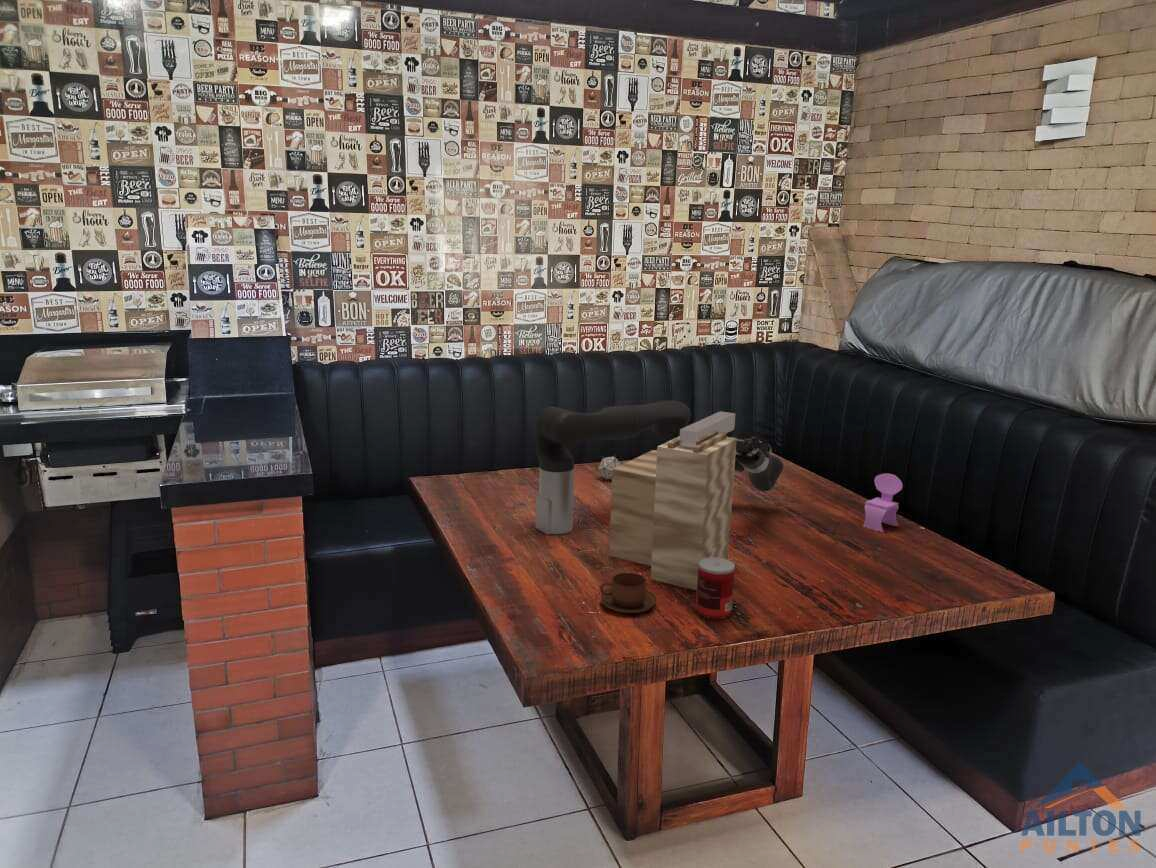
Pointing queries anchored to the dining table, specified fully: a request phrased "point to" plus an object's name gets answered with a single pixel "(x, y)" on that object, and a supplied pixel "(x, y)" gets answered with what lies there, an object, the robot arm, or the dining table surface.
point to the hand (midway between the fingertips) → (736, 437)
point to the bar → (706, 429)
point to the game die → (608, 466)
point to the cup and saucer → (627, 594)
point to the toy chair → (883, 503)
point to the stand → (674, 508)
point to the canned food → (715, 587)
